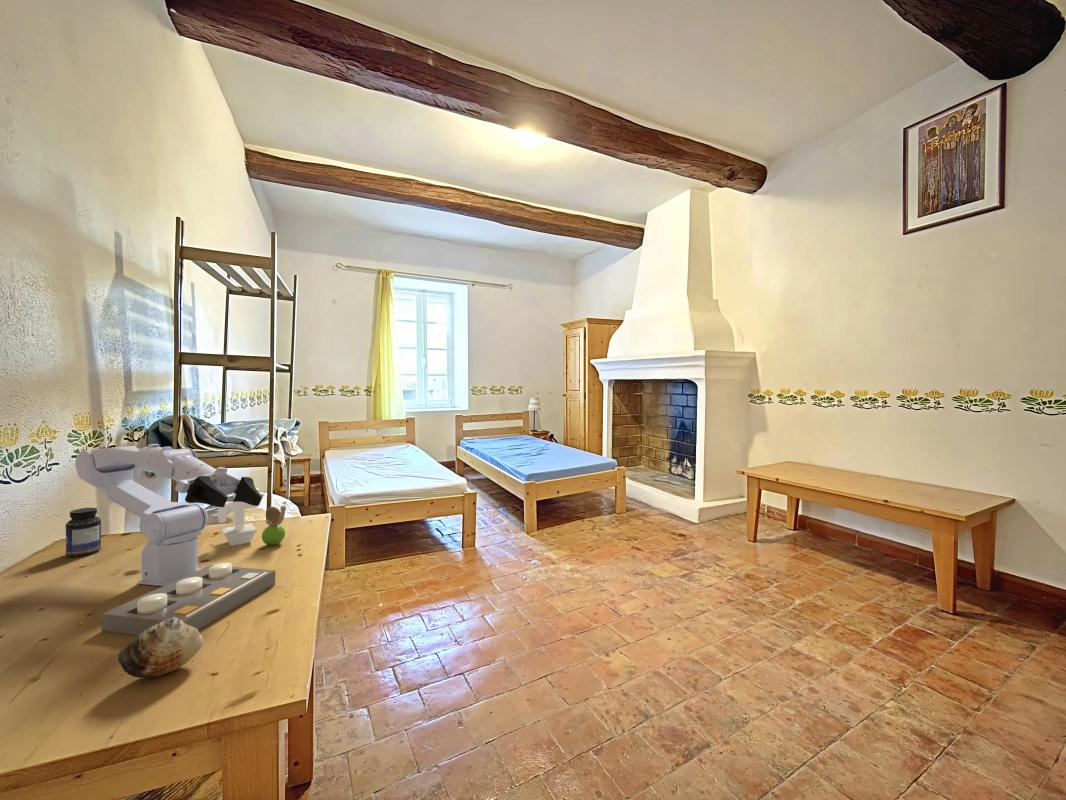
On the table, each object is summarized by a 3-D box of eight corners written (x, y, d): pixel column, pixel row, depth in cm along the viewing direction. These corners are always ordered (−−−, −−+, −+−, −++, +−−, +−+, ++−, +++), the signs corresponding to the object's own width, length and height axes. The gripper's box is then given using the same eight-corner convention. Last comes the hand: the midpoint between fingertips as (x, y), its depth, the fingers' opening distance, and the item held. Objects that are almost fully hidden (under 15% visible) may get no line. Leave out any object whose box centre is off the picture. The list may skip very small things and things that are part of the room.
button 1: (130, 620, 74) (130, 603, 74) (154, 608, 78) (154, 592, 78) (150, 622, 73) (150, 605, 73) (173, 610, 77) (173, 594, 77)
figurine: (215, 542, 115) (215, 488, 115) (256, 534, 122) (256, 483, 121) (220, 550, 110) (220, 493, 109) (262, 541, 116) (262, 487, 116)
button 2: (203, 584, 88) (203, 569, 88) (220, 575, 92) (220, 562, 92) (220, 585, 87) (220, 571, 87) (236, 577, 91) (236, 563, 91)
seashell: (202, 651, 68) (202, 603, 68) (203, 670, 63) (204, 618, 63) (120, 676, 62) (120, 622, 62) (115, 698, 57) (115, 641, 57)
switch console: (101, 630, 73) (101, 612, 73) (210, 578, 94) (210, 563, 94) (182, 640, 71) (182, 621, 71) (275, 584, 91) (275, 569, 91)
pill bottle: (69, 551, 107) (69, 508, 106) (103, 546, 110) (103, 505, 110) (62, 559, 102) (62, 514, 102) (97, 554, 105) (97, 510, 105)
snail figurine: (277, 549, 111) (277, 504, 111) (256, 547, 112) (256, 502, 112) (292, 542, 116) (293, 499, 116) (273, 540, 117) (273, 497, 117)
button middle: (170, 600, 81) (170, 585, 81) (190, 590, 85) (190, 576, 85) (188, 602, 80) (188, 586, 80) (207, 592, 84) (207, 577, 84)
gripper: (171, 457, 84) (215, 482, 79) (239, 462, 97) (280, 483, 93) (156, 491, 83) (199, 518, 78) (226, 491, 96) (267, 514, 92)
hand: (242, 501), depth 85 cm, fingers open, 7 cm apart
